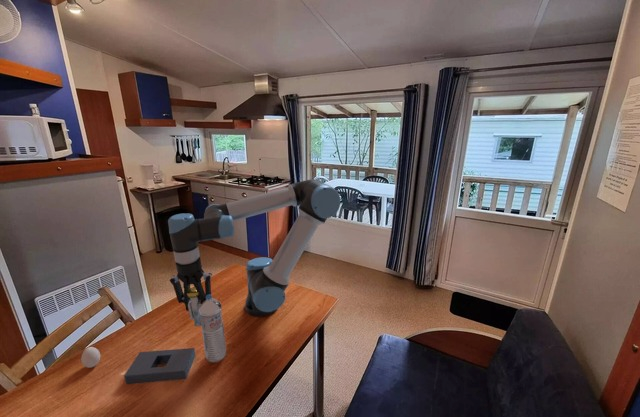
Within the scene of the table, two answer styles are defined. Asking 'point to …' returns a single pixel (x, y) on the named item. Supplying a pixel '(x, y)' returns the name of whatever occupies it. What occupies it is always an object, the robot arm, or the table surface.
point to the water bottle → (212, 329)
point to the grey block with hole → (149, 371)
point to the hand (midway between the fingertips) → (198, 316)
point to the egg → (90, 357)
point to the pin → (195, 305)
